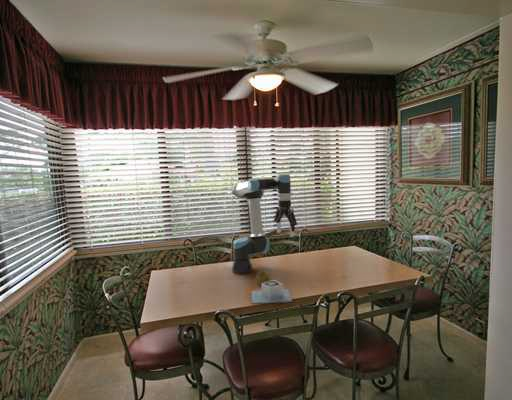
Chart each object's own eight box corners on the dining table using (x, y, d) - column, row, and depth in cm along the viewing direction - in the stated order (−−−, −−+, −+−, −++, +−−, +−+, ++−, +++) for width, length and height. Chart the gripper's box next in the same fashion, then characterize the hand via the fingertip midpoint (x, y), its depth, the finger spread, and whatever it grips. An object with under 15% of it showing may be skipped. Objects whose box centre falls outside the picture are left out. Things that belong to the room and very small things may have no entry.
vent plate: (251, 291, 177) (251, 279, 176) (287, 289, 178) (287, 277, 177) (252, 303, 161) (251, 290, 160) (292, 301, 162) (291, 288, 161)
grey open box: (274, 291, 176) (273, 279, 175) (283, 296, 168) (283, 284, 167) (261, 294, 171) (261, 283, 170) (270, 300, 163) (270, 288, 163)
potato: (259, 288, 181) (259, 276, 180) (255, 281, 194) (255, 269, 193) (272, 287, 183) (272, 274, 182) (268, 279, 195) (267, 268, 194)
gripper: (268, 198, 186) (269, 231, 188) (292, 202, 165) (293, 239, 167) (277, 197, 190) (278, 230, 192) (302, 201, 168) (303, 237, 171)
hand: (285, 234), depth 180 cm, fingers open, 13 cm apart
